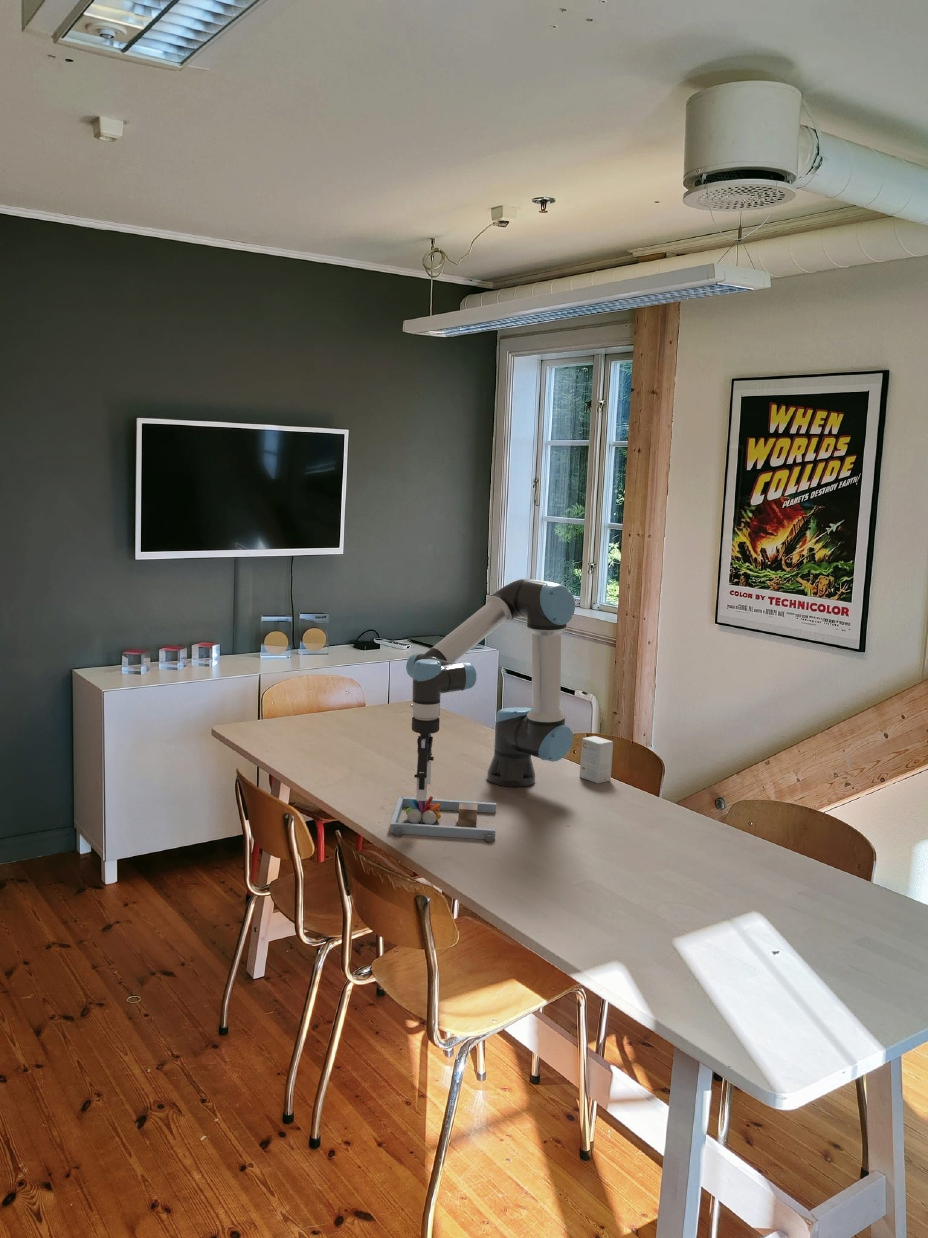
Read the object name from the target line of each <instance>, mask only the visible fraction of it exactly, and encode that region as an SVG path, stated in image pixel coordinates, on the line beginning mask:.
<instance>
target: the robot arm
mask: <svg viewBox="0 0 928 1238" xmlns="http://www.w3.org/2000/svg"><path fill="white" fill-rule="evenodd" d="M575 611H576V601H575V596H574V594H573V592H572V591H571V590H570V589H569V587H567V586H565V585H564V584H562V583H561V584H560V583H557V582H553V581H545V580H540V579H532V578H520V579H516V580H514V581H512V582H510V583H508V584H506V585H504V586H503V587H501V588H499V589H498V590H497V591H494V593H493V594H491V595H490V596H489V597H488V598H487V600H486V604H485V605H483V606H482V607H480V609H478V610H477V611H476V612H474V613H473V614H472V615H470V617H468V618H467V619H465V620H464V622H462V623H460V625H458V626H456V628H455V629H453V630H452V631H451V632H450V633H448V634H447V635H446V636H445V637H443V638H442V639H441V640H440V641H439V642H437V643H436V644H434V646H432V647H431V648H430V649H428V650H427V651H426V652H425V653H413V654H412V655H411V656H410V655H409V658H408V659H407V661H406V664H405V670H406V673H407V675H408V676H409V677H410V678H412V703H411V704H410V705H409V707H410V708H412V709H411V710H412V711H411V712H412V713H411V714H412V717H411V731H412V732H414V733H417V734H419V735H417V736H418V737H417V741H416V742H417V743H416V744H417V751H416V752H417V765H416V767H417V768H416V774H414V779H415V778H416V797H415V798H416V800H417V801H426V800H427V799H428V785H431V784H432V783H431V777H432V776H431V775H432V762H433V761H434V759H435V758H434V756H433V753H432V752H433V751H432V748H433V741H434V737H433V736H432V734H435V733H438V732H439V731H440V715H441V694H445V693H447V694H448V693H452V692H458V691H459V692H460V691H465V690H469V689H471V688H474V686H475V685H476V682H477V671H476V668H475V666H474V665H473V664H472V663H470V662H462V661H460V662H457V661H459V660H460V659H461V658H462V657H463V656H464V655H466V654H467V653H468V652H470V651H471V650H472V649H473V648H474V647H475V646H477V645H478V644H479V643H481V642H482V641H483V640H484V639H486V638H487V636H489V635H490V634H491V633H492V632H494V631H495V630H496V629H498V628H499V627H500V626H501V625H502V624H508V623H510V622H511V621H513V620H514V619H516V618H522V617H523V618H527V619H526V626H527V627H526V628H527V629H528V630H529V631H530V632H531V635H532V636H531V641H532V642H531V653H532V654H531V707H523V706H522V707H521V706H518V707H517V706H516V707H515V706H514V707H505V708H501V709H499V710H498V711H497V713H496V719H495V731H494V750H493V751H494V752H493V756H492V759H491V762H490V764H489V767H488V769H487V775H486V776H487V777H486V779H487V780H488V781H489V782H490V783H492V784H495V785H499V786H501V787H502V786H503V787H507V788H508V787H510V788H521V787H528V786H532V785H533V784H535V783H536V773H535V767H534V764H533V760H532V757H536V758H538V759H540V760H542V761H548V762H551V763H552V762H558V761H560V760H562V759H563V758H565V757H566V755H567V754H568V753H569V751H570V749H571V747H572V744H573V742H574V734H573V731H572V730H571V727H569V726H568V725H567V724H566V715H565V714H564V713H565V712H563V711H562V710H561V683H562V681H561V680H562V679H561V675H562V673H561V672H562V671H561V670H562V668H561V667H562V634H563V632H564V631H565V630H566V629H567V624H568V623H569V622H570V621H571V620H572V618H573V616H574V614H575ZM456 662H457V663H456Z"/></svg>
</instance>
